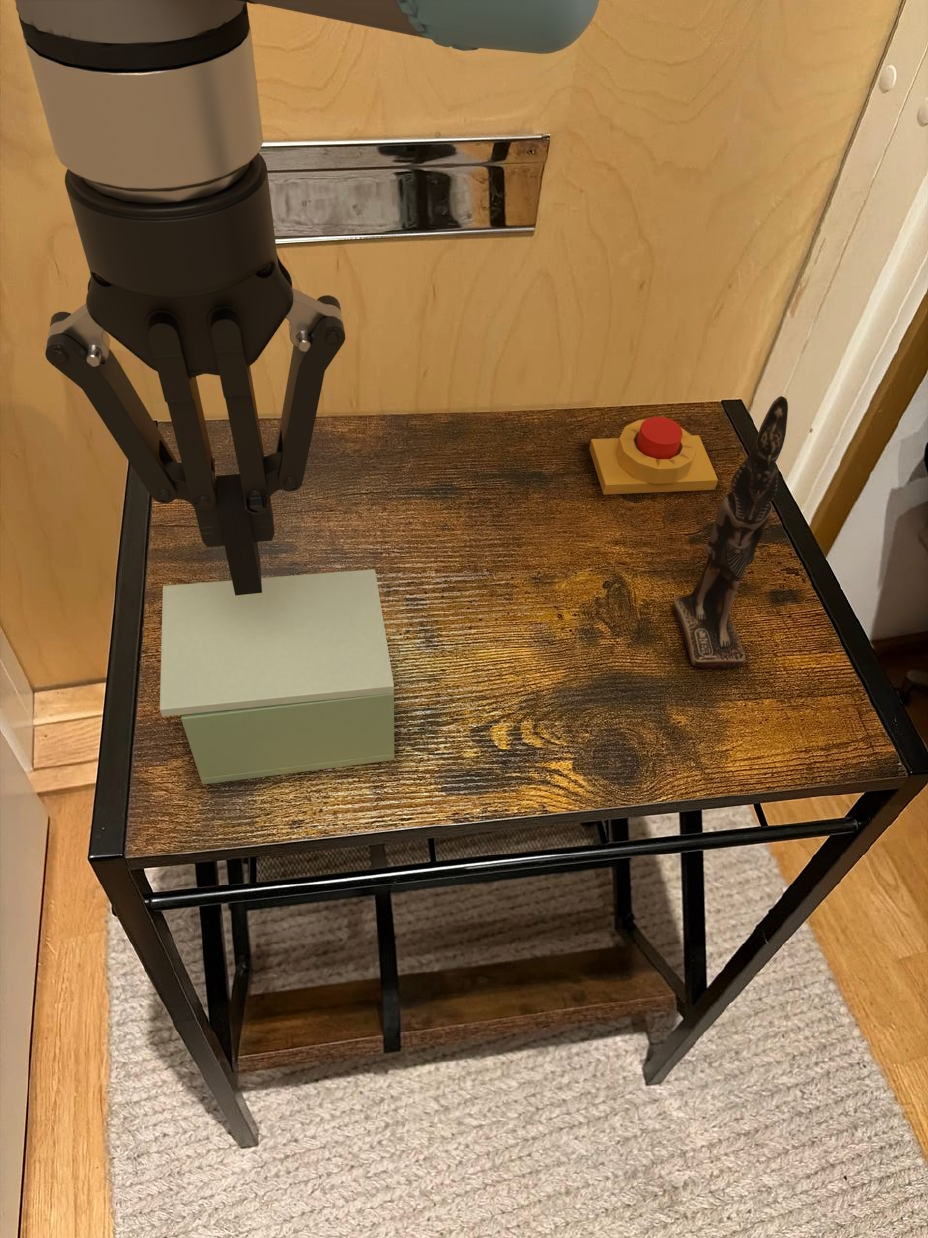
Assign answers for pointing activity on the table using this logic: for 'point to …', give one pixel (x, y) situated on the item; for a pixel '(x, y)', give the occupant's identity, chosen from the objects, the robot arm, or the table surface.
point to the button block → (650, 465)
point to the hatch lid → (272, 643)
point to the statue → (733, 550)
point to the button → (659, 438)
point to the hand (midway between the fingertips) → (247, 576)
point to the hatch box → (291, 737)
